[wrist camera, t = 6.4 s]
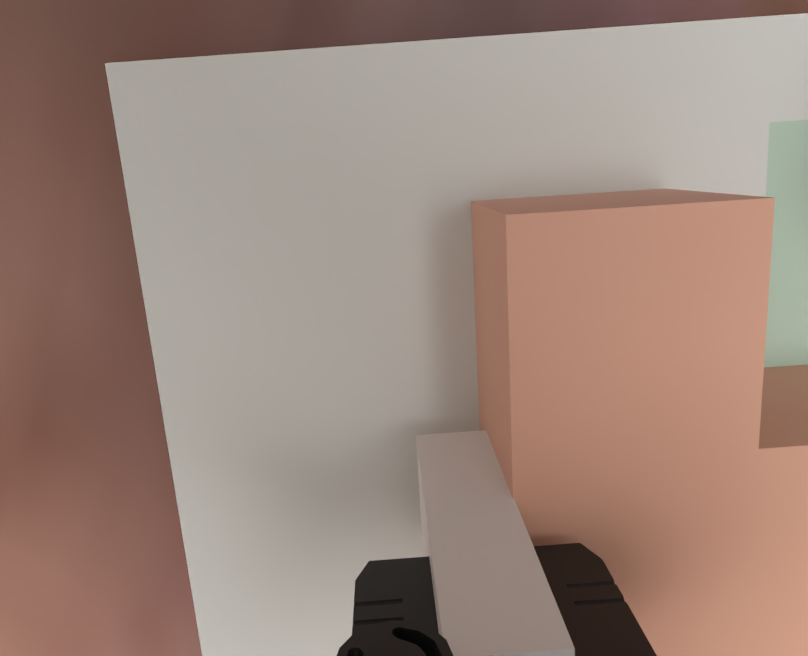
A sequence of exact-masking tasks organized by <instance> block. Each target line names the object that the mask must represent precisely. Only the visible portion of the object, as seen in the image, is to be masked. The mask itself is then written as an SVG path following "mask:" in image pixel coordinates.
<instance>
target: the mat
mask: <svg viewBox="0 0 808 656" xmlns="http://www.w3.org/2000/svg"><path fill="white" fill-rule="evenodd" d="M105 67H106V73H107V80H108V86H109V92H110V98H111V104H112V110H113V116H114V122H115V128H116V134H117V140H118V146H119V152H120V159H121V165H122V171H123V177H124V183H125V189H126V195H127V201H128V207H129V213H130V219H131V225H132V232H133V238H134V244H135V250H136V256H137V262H138V268H139V274H140V280H141V286H142V292H143V298H144V305H145V311H146V317H147V323H148V329H149V335H150V341H151V347H152V353H153V359H154V365H155V371H156V378H157V384H158V390H159V396H160V402H161V408H162V414H163V420H164V426H165V432H166V438H167V444H168V450H169V457H170V463H171V469H172V475H173V481H174V487H175V493H176V499H177V505H178V511H179V517H180V523H181V530H182V536H183V542H184V548H185V554H186V560H187V566H188V572H189V578H190V584H191V590H192V596H193V603H194V609H195V615H196V621H197V627H198V633H199V639H200V645H201V651H202V656H337V653H338V650H339V648H340V647H341V646H342V645H343V644H344V643H345V642H346V641H347V640H348V639H349V638H350V637H351V636H352V626H353V609H354V593H355V580H356V579H357V577H358V576H359V574H360V573H361V572H362V570H363V569H364V567H365V566H366V564H367V563H368V561H374V560H387V559H400V558H414V557H424V556H423V542H422V526H421V510H420V494H419V479H418V463H417V447H416V435H426V434H440V433H454V432H467V431H480V424H479V398H478V371H477V345H476V318H475V292H474V265H473V239H472V212H471V201H478V200H494V199H509V198H525V197H541V196H556V195H572V194H587V193H603V192H618V191H634V190H649V189H665V188H666V189H678V190H690V191H702V192H714V193H725V194H737V195H749V196H761V197H773V198H775V205H774V220H773V235H772V251H771V266H770V281H769V297H768V312H767V327H766V342H765V358H764V368H765V367H780V366H794V365H808V13H803V14H789V15H775V16H761V17H747V18H733V19H719V20H705V21H690V22H676V23H662V24H648V25H634V26H620V27H606V28H592V29H578V30H564V31H550V32H536V33H522V34H508V35H494V36H480V37H466V38H451V39H437V40H423V41H409V42H395V43H381V44H367V45H353V46H339V47H325V48H311V49H297V50H283V51H269V52H255V53H241V54H226V55H212V56H198V57H184V58H170V59H156V60H142V61H128V62H114V63H105Z"/></svg>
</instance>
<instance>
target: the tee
mask: <svg viewBox="0 0 808 656" xmlns="http://www.w3.org/2000/svg"><path fill="white" fill-rule="evenodd" d="M774 205H775V198H773V197H761V196H749V195H737V194H725V193H714V192H702V191H690V190H678V189H666V188H665V189H649V190H634V191H618V192H603V193H587V194H572V195H556V196H541V197H525V198H509V199H494V200H478V201H471V212H472V239H473V265H474V292H475V318H476V345H477V371H478V398H479V424H480V431H481V430H486V431H487V434H488V437H489V439H490V442H491V444H492V447H493V449H494V452H495V454H496V457H497V459H498V462H499V465H500V467H501V470H502V472H503V475H504V477H505V480H506V482H507V485H508V487H509V490H510V493H511V495H512V498H513V499H515V502H516V504H517V507H518V509H519V512H520V514H521V516H522V519H523V521H524V524H525V526H526V529H527V531H528V534H529V536H530V539H531V541H532V544H533V546H543V545H557V544H570V543H581V544H582V545H584V546H585V547H586V548H588V549H589V550H590V551H592V552H593V553H594V554H596V555H597V556H599V557H600V558H601V559H602V560H603V561H604V563H605V565H606V567H607V568H608V570H609V572H610V574H611V575H612V577H613V579H614V583H615V584H617V586H618V588H619V590H620V591H621V593H622V595H623V597H624V601H625V602H627V604H628V606H629V607H630V609H631V611H632V613H633V614H634V616H635V618H636V620H637V621H638V623H639V625H640V627H641V629H642V630H643V632H644V634H645V636H646V637H647V639H648V641H649V643H650V644H651V646H652V648H653V650H654V652H655V653H656V655H657V656H808V365H794V366H780V367H765V368H764V358H765V342H766V327H767V312H768V297H769V281H770V266H771V251H772V235H773V220H774Z"/></svg>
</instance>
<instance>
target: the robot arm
mask: <svg viewBox="0 0 808 656" xmlns="http://www.w3.org/2000/svg"><path fill="white" fill-rule="evenodd" d="M416 447H417V463H418V479H419V494H420V510H421V526H422V542H423V556H424V557H414V558H400V559H387V560H374V561H368V563H367V564H366V566H365V567H364V569H363V570H362V572H361V573H360V574H359V576H358V577H357V579H356V580H355V593H354V609H353V626H352V636H351V637H350V638H349V639H348V640H347V641H346V642H345V643H344V644H343V645H342V646H341V647H340V648H339V650H338V653H337V656H657V655H656V653H655V652H654V650H653V648H652V646H651V644H650V643H649V641H648V639H647V637H646V636H645V634H644V632H643V630H642V629H641V627H640V625H639V623H638V621H637V620H636V618H635V616H634V614H633V613H632V611H631V609H630V607H629V606H628V604H627V602H625V601H624V597H623V595H622V593H621V591H620V590H619V588H618V586H617V584H615V583H614V579H613V577H612V575H611V574H610V572H609V570H608V568H607V567H606V565H605V563H604V561H603V560H602V559H601V558H600V557H599V556H597V555H596V554H594V553H593V552H592V551H590V550H589V549H588V548H586V547H585V546H584V545H582V544H581V543H570V544H557V545H543V546H533V544H532V541H531V539H530V536H529V534H528V531H527V529H526V526H525V524H524V521H523V519H522V516H521V514H520V512H519V509H518V507H517V504H516V502H515V499H513V498H512V495H511V493H510V490H509V487H508V485H507V482H506V480H505V477H504V475H503V472H502V470H501V467H500V465H499V462H498V459H497V457H496V454H495V452H494V449H493V447H492V444H491V442H490V439H489V437H488V434H487V431H486V430H481V431H467V432H454V433H440V434H426V435H416Z"/></svg>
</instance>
